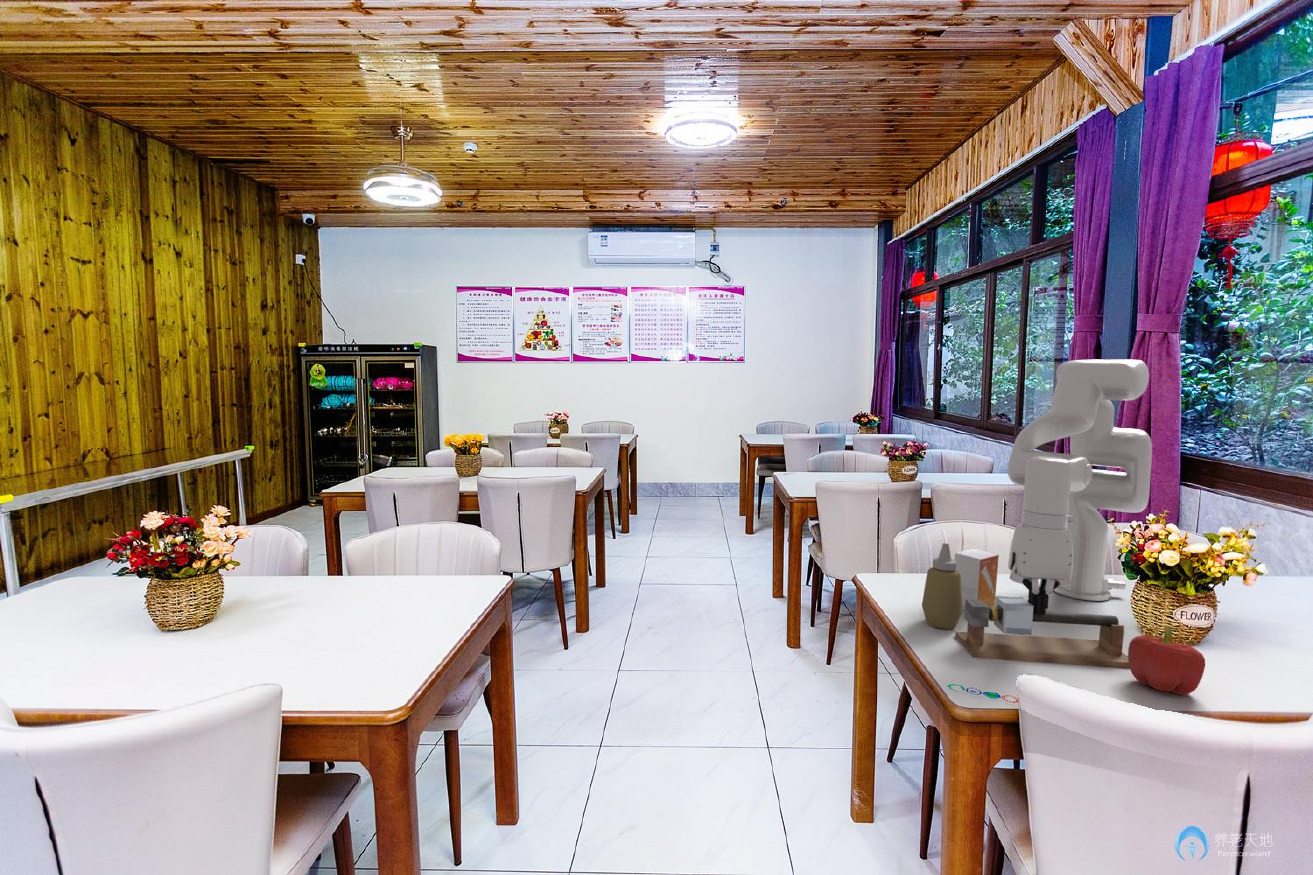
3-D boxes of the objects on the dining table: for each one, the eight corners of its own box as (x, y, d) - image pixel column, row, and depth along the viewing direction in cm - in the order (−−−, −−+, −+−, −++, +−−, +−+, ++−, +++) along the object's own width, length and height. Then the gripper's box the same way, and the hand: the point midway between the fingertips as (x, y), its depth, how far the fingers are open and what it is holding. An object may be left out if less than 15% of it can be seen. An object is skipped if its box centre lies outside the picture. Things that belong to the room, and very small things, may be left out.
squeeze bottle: (960, 621, 137) (966, 541, 135) (961, 634, 130) (967, 550, 128) (921, 614, 140) (925, 537, 139) (920, 627, 133) (924, 546, 131)
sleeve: (1020, 625, 125) (1022, 597, 124) (1031, 635, 120) (1033, 606, 119) (993, 623, 125) (995, 596, 125) (1003, 633, 121) (1005, 604, 120)
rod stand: (1105, 645, 125) (1109, 602, 125) (1137, 668, 116) (1141, 621, 115) (955, 635, 129) (957, 594, 128) (973, 657, 119) (976, 612, 118)
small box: (976, 615, 141) (980, 559, 140) (950, 606, 146) (953, 552, 145) (995, 608, 145) (999, 554, 144) (969, 599, 151) (972, 547, 149)
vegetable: (1127, 666, 116) (1131, 615, 115) (1200, 684, 110) (1205, 630, 109) (1124, 688, 108) (1129, 633, 107) (1203, 709, 101) (1209, 651, 100)
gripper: (1075, 517, 123) (1067, 607, 124) (995, 514, 124) (989, 602, 126) (1097, 526, 115) (1088, 621, 117) (1012, 523, 117) (1005, 616, 119)
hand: (1037, 611), depth 122 cm, fingers closed
